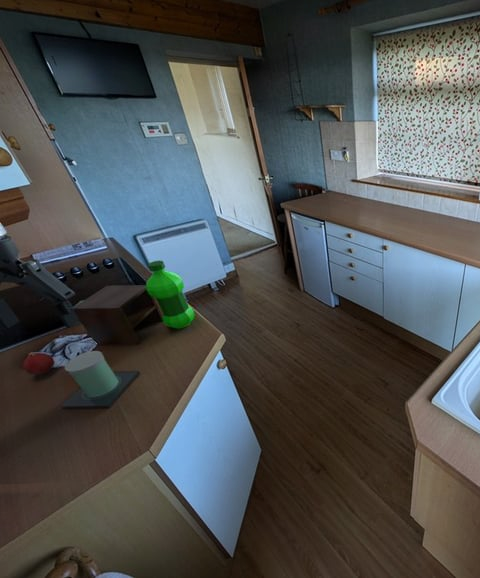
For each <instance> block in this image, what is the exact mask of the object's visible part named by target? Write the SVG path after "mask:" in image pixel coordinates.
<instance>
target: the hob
mask: <svg viewBox="0 0 480 578" xmlns="http://www.w3.org/2000/svg"><path fill="white" fill-rule="evenodd" d="M113 373H114V374H115V376H116V377H117V379H118V381H119V382H118V384H117V386H116V387H115V388H114V389H113V390H111V391H110V392H108V393H106V394H104V395H102V396H99V397H93V398H91V397H88V396H87V395H86V394H85V393H84V392H83V390H82V389H81V388H80V387H79V389H77V390H76V391H75V392H74V393H73V394H72V395H71V396H70V397H68V399H67V400H66V401H65V402H64V403H62V405H60V408H61V409H62V410H75V409H76V410H79V409H83V410H84V409H111V407H112V405H114V403H115V402H116V401H117V400H119V398H120V397H121V396H122V394H123V393H124V392H125V391H126V390H127V389H128V387H130V385H132V383H133V382H134V381H135V380H136V379H137V378H138V377H139V376H140V374H141V372H140V371H139V370H127V371H126V370H125V371H123V370H121V371H119V370H117V371H113Z"/></svg>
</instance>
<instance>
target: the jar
mask: <svg viewBox="0 0 480 578" xmlns="http://www.w3.org/2000/svg"><path fill="white" fill-rule="evenodd" d="M64 370H65V372H66V373H67V374H69V375H70V376H71V378H72V379H73V380H74V382H75V383H76V384H77V385H78V386H79V389H80V388H81V389H82V390H83V392H84V393H85V394H86V395H87V396H88V397H91V398H93V397H99V396H102V395H104V394H106V393H108V392H110V391H111V390H113V389H114V388H115V387H116V386H117V384H118V382H119V381H118V379H117V377H116V376H115V374H114V373H113V372H114V371H113V369H112V368H111V366H110V365H109V363H108V362H107V360H106V359H105V355H104V354H103V352H102V351H98V350H91V351H87V352H83V353H81V354H79V355H77V356H74V357H73V358H71V359H70V360H69V361H67V363H66V364H65V365H64Z"/></svg>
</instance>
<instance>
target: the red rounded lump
mask: <svg viewBox="0 0 480 578" xmlns="http://www.w3.org/2000/svg"><path fill="white" fill-rule="evenodd" d="M54 365H55V360H54V357H53V356H51V355H50V354H48V353H44V352H30V353H29V354H28V355H27V357H26V358H25V359H24V361H23V363H22V366H23V369H24V371H25V372H27V373H28V374H32V375H46V374H48V373H49V372H50V371H51V370H52V368H53V367H54Z"/></svg>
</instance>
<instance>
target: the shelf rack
mask: <svg viewBox="0 0 480 578" xmlns="http://www.w3.org/2000/svg"><path fill="white" fill-rule="evenodd" d="M83 300H84V301H83ZM83 300H82V301H83V302H81V303H80V304H78V303H77V304H78V305H77V306H75V305H74V306H75V307H74V306H73V307H74V312H75V314H76V315H77V317H78V318H79V320H80V321H79V322H80V324H81V325H82V326H83V327H84V329H85V331H86V333H88V335H89V336H90V338H91V340H92V341H93V342H94V341H95V342H96V343H97V344H98V345H97V346H119V345H125V346H127V345H140V344H141V343H142V341H141V340H140V338H139V337H138V335H137V333H136V331H135V328H136V327H137V326H138V325H139V324H140V323H141V322H163V318H162V314H163V313H162V311H161V308H160V306H159V304H158V302H157V300H156V298H154V297H151V296H150V295H149V294H148V292H147V288H146V284H142V285H141V284H140V285H139V284H138V285H137V284H135V285H133V284H132V285H131V284H129V285H123V284H122V285H120V284H119V285H105V286H104V287H103V288H101V289H99V290H98V291H96V292H95V293H93V294H92V295H90V296H88V297H87V298H85V299H83ZM95 342H94V343H95Z"/></svg>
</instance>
